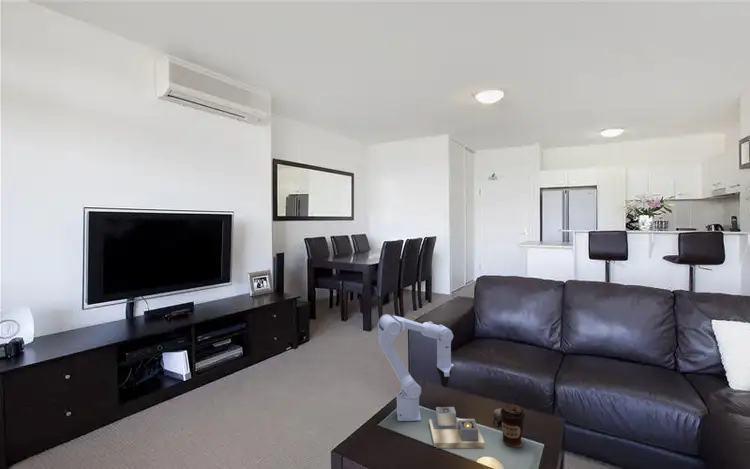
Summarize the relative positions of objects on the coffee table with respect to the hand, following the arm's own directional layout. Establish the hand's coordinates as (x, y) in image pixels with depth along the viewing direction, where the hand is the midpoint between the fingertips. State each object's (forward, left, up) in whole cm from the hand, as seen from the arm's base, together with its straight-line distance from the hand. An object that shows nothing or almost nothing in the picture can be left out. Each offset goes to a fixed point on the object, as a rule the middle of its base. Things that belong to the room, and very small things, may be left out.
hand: (444, 385), depth 157 cm
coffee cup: (+21, -23, -11) cm, 33 cm away
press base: (+1, -19, -10) cm, 21 cm away
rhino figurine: (+23, -9, -11) cm, 27 cm away
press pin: (+5, -22, -8) cm, 24 cm away
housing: (-2, -15, -8) cm, 17 cm away
